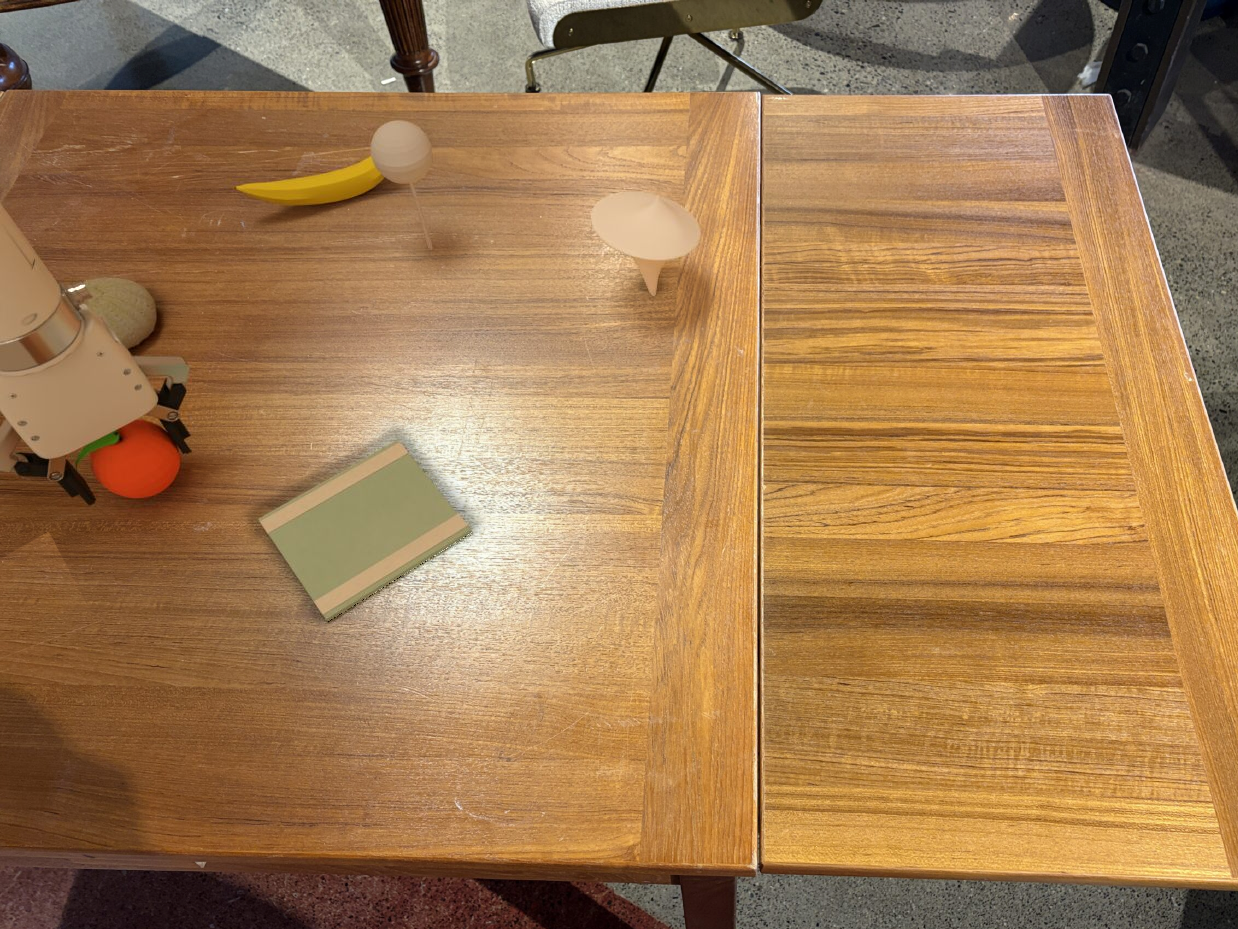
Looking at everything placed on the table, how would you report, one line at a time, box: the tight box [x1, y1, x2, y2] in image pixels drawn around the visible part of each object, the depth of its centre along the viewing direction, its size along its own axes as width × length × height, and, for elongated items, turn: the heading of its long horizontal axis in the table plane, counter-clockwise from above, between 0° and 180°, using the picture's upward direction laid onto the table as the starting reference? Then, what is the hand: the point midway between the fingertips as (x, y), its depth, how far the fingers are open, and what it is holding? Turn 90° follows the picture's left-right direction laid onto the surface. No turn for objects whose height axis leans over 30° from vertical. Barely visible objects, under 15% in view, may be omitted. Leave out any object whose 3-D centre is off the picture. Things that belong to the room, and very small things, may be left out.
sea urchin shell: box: [82, 277, 158, 351], centre depth 101 cm, size 9×8×8 cm
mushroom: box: [590, 190, 702, 297], centre depth 100 cm, size 10×11×12 cm
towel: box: [257, 439, 473, 622], centre depth 89 cm, size 14×13×1 cm
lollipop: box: [370, 119, 434, 251], centre depth 103 cm, size 6×6×15 cm
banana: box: [234, 155, 385, 206], centre depth 111 cm, size 3×19×6 cm, turn 115°
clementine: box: [75, 418, 181, 499], centre depth 88 cm, size 8×7×7 cm
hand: (135, 467), depth 89 cm, fingers closed on clementine, 8 cm apart
